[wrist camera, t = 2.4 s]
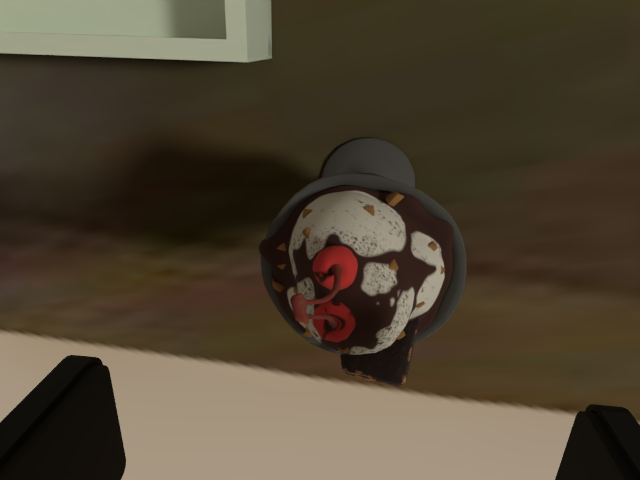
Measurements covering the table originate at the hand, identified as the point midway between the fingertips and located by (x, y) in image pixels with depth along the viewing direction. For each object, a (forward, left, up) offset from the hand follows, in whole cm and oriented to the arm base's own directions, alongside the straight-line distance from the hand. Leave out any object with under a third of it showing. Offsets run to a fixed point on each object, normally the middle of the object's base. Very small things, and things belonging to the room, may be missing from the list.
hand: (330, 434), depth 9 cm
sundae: (0, 0, -17) cm, 17 cm away
